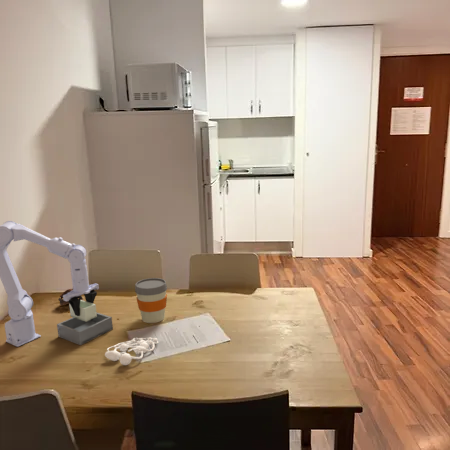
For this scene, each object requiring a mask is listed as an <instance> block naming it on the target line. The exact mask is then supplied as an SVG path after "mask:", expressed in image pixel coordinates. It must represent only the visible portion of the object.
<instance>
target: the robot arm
mask: <svg viewBox="0 0 450 450" xmlns="http://www.w3.org/2000/svg"><path fill="white" fill-rule="evenodd" d="M22 240H25V241H28V242H31V243H34V244H37V245H40V246H42V247H45V248H46V249H47V250H48V252H49V253H51V254H54V255H56V256H58V257H61V258H64V259H67V260H68V262H69V263H70V275H71V282H72V283H71V284H72V289H73V290H72V291H70V292H69V293H67V294H65V295H63V298H62V299H63V300H64V301H68V302H69V304H70V305H71V307H72V308H73V311H74V313H75V315H76V316H80V301H81V300H80V299H79V298H77V296H80V295H81V296H82V295H83V296H84V299H85V301H86V302H90V303H93V304H95V302H94V301H95V299H96V296H97V295H98V292H97V291H96V290H99V289H100V287H99V286H100V285H99V284H98V283H93V284H90V283H89V282H90V281H89V275H88V274H89V273H88V266H87V259H86V256H87V252H88V251H87V249H86V248H85V247H84V246H83V245H82V244H76V243H74V242H73V243H71V242H68V241H65V240H64V238H63V237H61V236H59V237H53V238H50V237H48V236H46V235H43V234H42V233H40V232H37V231H36V230H33V229H32V228H29V227H27V226H25V225H24V224H22V223H17V222H15V221H13V220H7V221H5V222H3V224H0V280H1V283H2V286H3V287H4V290H5V292H6V294H7V295H6V296H7V300H6V304H7V307H8V311H7V313H8V317H10V319H9V320H8V321H6V322H5V323H4V331H5V337H6V340H5V342H6V343H8V344H10V345H13V346H15V347H20V346H22V345H25V344H27V343H29V342H32V341H34V340H36V339H39V338H41V336H42V335H41V334H39V333H36V326H35V321H34V313H33V310H32V307H33V306H34V301H33V298H32V297H31V296H30V295H29V294H28V292H27V291H26V290H25V289H23V287H22V284H21V282H20V279H19V277H18V275H17V273H16V271H15V268H14V265H13V263H12V261H11V258H10V254H9V253H8V250H7V249H8V247H9V246H10V245H11V242H12V241H13V242H17V241H22ZM69 304H68V305H69Z"/></svg>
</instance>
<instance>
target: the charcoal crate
mask: <svg viewBox="0 0 450 450" xmlns="http://www.w3.org/2000/svg"><path fill="white" fill-rule="evenodd" d="M96 313H97V317H95V318H93V319H91V320H89V321H87V322H85V321H82V320H79V319H77V318H74V317H70V318H68V319H65V320H64V321H62V322H59V323H56V326H57V335H58V338H61V339H64V340H65V341H69V342H71V343H73V344H76V345H79V346H82V345H84V344H87V343H88V342H90V341H93V340H94V339H97V338H98V337H100V336H102V335H104V334H107V333H108V332H111V331H112V330H113V329H114V328H113V327H114V326H113V317H112V316H109V315H107V314H103V313H100V312H97V311H96Z"/></svg>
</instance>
